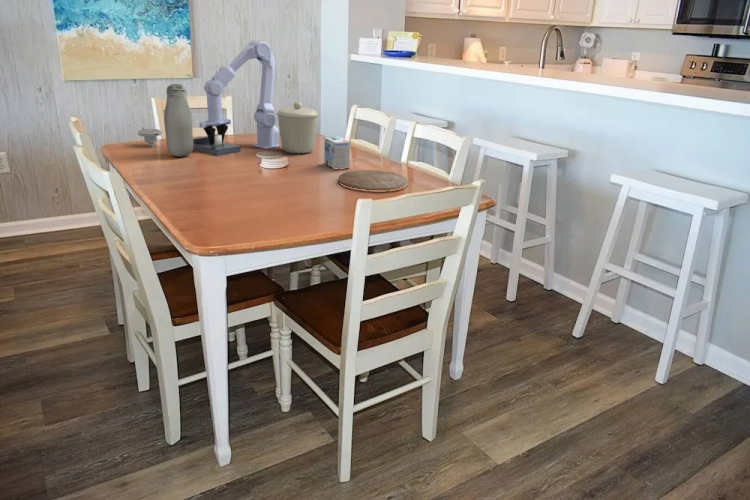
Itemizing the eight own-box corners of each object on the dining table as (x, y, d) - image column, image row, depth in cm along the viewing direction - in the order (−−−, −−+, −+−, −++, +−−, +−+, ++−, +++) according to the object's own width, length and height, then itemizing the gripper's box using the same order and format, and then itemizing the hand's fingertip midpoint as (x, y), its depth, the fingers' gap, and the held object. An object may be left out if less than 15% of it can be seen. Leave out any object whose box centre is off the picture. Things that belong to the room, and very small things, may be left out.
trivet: (329, 176, 214) (329, 171, 213) (392, 173, 222) (392, 168, 222) (351, 195, 192) (351, 190, 192) (419, 191, 201) (419, 186, 200)
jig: (216, 145, 252) (215, 135, 251) (240, 151, 244) (240, 141, 242) (193, 149, 243) (192, 138, 242) (217, 155, 234) (217, 144, 233)
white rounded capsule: (217, 145, 245) (216, 133, 243) (224, 147, 243) (223, 135, 241) (210, 146, 242) (209, 135, 240) (217, 148, 240) (216, 136, 238)
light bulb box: (323, 163, 231) (323, 136, 227) (338, 162, 234) (339, 136, 230) (334, 170, 222) (334, 142, 218) (350, 169, 225) (350, 141, 221)
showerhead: (152, 126, 249) (165, 129, 244) (153, 142, 252) (167, 146, 247) (132, 128, 242) (145, 131, 237) (134, 145, 245) (147, 149, 240)
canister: (316, 157, 241) (316, 105, 233) (273, 154, 241) (272, 103, 233) (321, 148, 258) (321, 99, 250) (280, 146, 258) (280, 97, 250)
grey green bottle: (178, 160, 225) (172, 86, 214) (162, 155, 230) (156, 83, 220) (199, 156, 232) (194, 84, 222) (183, 152, 238) (178, 82, 227)
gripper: (206, 113, 230) (208, 147, 235) (235, 110, 240) (236, 142, 245) (195, 110, 233) (197, 144, 238) (224, 107, 244) (225, 139, 249)
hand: (216, 143), depth 242 cm, fingers closed on white rounded capsule, 4 cm apart
